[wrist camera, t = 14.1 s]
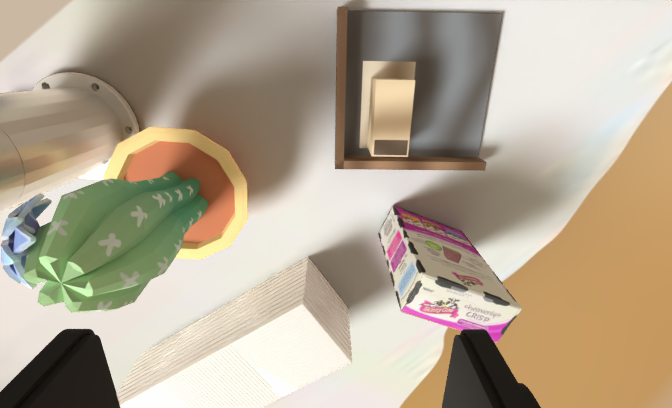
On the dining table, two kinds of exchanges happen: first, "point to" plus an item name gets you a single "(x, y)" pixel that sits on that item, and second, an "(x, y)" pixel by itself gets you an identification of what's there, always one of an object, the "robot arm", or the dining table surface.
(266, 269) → the dining table surface
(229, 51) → the dining table surface
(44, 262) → the potted cactus
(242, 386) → the stack of papers
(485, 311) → the candy bar box
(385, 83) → the maple block
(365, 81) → the corner arena
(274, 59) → the dining table surface
